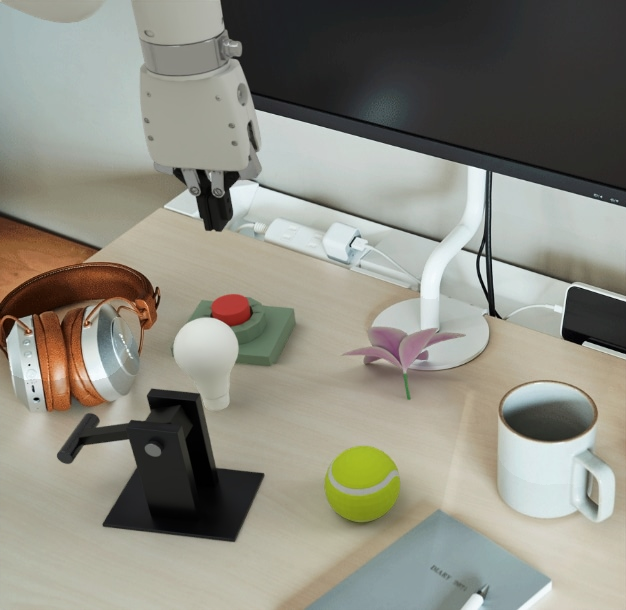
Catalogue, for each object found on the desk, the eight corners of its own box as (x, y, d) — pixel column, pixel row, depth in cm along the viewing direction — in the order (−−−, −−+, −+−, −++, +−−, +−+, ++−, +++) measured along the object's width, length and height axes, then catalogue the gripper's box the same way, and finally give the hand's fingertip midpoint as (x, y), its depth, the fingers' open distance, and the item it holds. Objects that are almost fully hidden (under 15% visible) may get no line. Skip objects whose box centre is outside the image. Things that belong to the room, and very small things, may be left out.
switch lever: (64, 469, 79) (50, 449, 78) (92, 429, 83) (78, 409, 82) (176, 454, 76) (163, 433, 75) (199, 414, 80) (187, 393, 79)
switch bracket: (104, 533, 81) (72, 435, 74) (143, 468, 88) (117, 372, 81) (236, 548, 80) (215, 451, 73) (265, 481, 87) (249, 386, 80)
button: (208, 326, 100) (205, 313, 99) (221, 305, 103) (218, 292, 102) (243, 329, 100) (241, 316, 99) (255, 308, 103) (253, 295, 102)
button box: (173, 363, 101) (167, 334, 98) (204, 315, 108) (199, 286, 106) (271, 372, 100) (266, 343, 97) (295, 323, 107) (292, 295, 104)
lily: (482, 383, 100) (465, 297, 99) (445, 415, 89) (427, 319, 88) (382, 394, 104) (365, 311, 103) (335, 426, 93) (316, 334, 92)
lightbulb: (176, 424, 93) (155, 337, 86) (205, 385, 98) (187, 301, 91) (232, 434, 92) (215, 347, 85) (258, 395, 96) (244, 310, 90)
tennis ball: (379, 548, 80) (375, 494, 76) (313, 524, 82) (306, 470, 79) (414, 495, 85) (412, 442, 82) (351, 474, 87) (346, 421, 84)
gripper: (277, 41, 86) (299, 211, 97) (126, 33, 88) (164, 202, 99) (251, 70, 80) (277, 249, 91) (88, 62, 82) (133, 238, 93)
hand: (218, 224), depth 95 cm, fingers closed
